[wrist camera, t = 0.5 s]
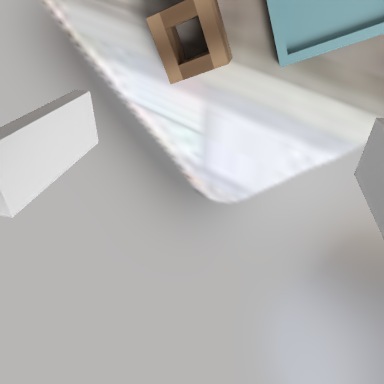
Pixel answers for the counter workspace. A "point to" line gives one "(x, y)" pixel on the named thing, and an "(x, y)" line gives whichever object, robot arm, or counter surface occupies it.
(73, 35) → the counter surface
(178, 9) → the block
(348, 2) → the tray
